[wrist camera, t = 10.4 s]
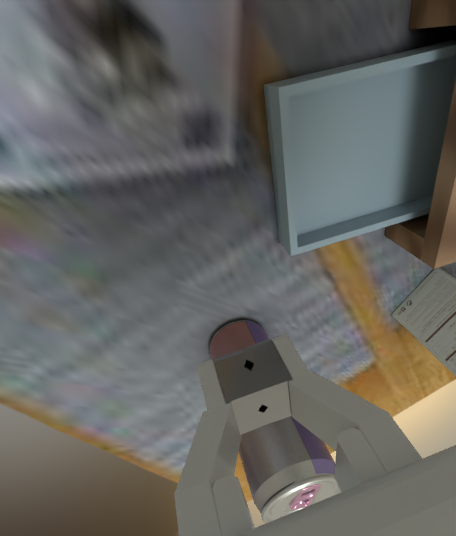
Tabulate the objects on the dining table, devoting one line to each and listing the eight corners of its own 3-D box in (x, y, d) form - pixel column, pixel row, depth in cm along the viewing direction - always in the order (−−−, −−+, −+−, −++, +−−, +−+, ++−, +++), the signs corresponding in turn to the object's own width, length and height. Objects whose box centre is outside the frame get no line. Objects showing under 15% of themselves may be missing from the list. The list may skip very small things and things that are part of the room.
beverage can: (271, 316, 33) (360, 470, 21) (255, 360, 36) (325, 517, 23) (214, 316, 31) (276, 487, 19) (202, 362, 34) (249, 536, 21)
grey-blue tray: (263, 84, 21) (278, 87, 19) (510, 25, 24) (547, 23, 22) (278, 241, 28) (291, 256, 26) (469, 184, 31) (494, 193, 28)
